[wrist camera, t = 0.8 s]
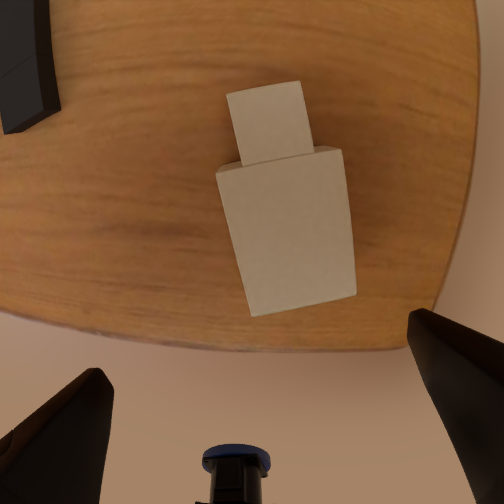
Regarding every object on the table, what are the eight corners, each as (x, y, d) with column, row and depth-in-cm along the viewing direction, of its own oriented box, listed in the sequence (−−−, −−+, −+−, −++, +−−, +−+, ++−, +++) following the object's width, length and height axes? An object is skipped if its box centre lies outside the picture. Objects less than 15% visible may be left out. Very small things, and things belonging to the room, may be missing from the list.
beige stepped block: (341, 270, 19) (357, 295, 16) (251, 289, 20) (251, 317, 17) (313, 85, 15) (327, 76, 12) (206, 105, 15) (197, 100, 12)
